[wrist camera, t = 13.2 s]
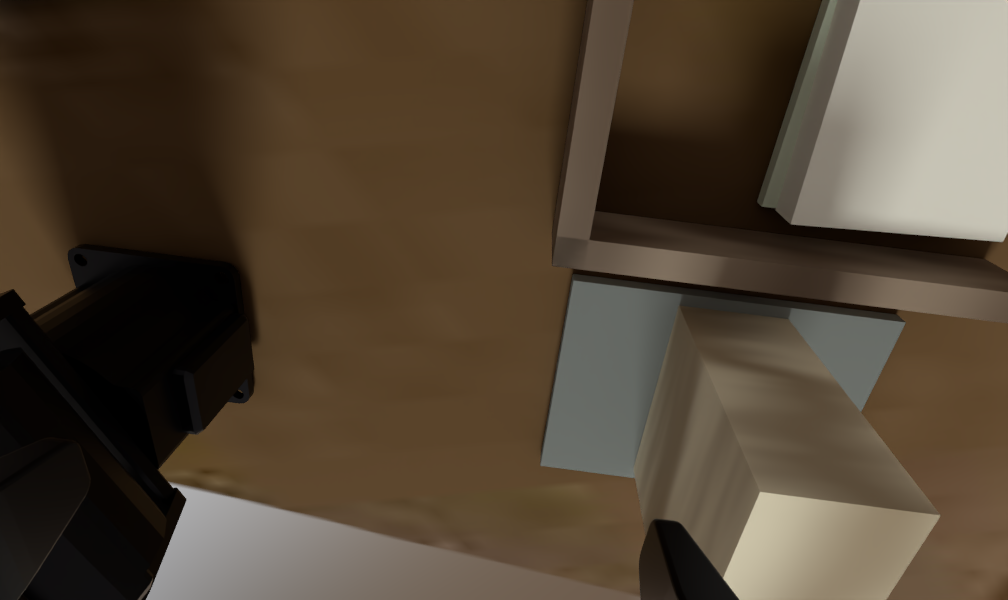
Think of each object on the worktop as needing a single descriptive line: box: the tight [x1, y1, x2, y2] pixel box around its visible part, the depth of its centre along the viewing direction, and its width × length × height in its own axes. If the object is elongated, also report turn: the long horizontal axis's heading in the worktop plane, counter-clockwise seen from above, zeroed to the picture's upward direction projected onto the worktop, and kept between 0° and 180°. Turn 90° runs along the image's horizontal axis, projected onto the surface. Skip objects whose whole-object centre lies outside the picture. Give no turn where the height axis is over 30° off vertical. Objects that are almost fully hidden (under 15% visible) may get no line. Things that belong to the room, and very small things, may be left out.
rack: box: [552, 0, 1008, 323], centre depth 16 cm, size 15×14×3 cm
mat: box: [540, 274, 906, 478], centre depth 23 cm, size 12×9×1 cm
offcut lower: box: [757, 0, 837, 208], centre depth 17 cm, size 7×10×1 cm
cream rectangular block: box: [633, 306, 941, 600], centre depth 18 cm, size 4×8×9 cm, turn 174°
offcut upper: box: [776, 0, 1008, 242], centre depth 16 cm, size 6×9×1 cm
